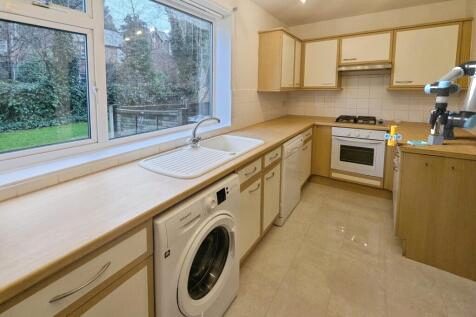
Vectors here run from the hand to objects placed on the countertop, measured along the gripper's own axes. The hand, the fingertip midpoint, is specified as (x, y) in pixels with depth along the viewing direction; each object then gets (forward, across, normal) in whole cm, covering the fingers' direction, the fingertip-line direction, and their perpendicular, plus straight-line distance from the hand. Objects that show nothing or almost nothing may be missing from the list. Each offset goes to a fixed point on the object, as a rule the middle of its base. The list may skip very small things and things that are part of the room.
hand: (436, 133), depth 210 cm
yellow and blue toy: (+10, +32, -5) cm, 33 cm away
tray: (+9, +13, -1) cm, 16 cm away
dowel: (+8, 0, 0) cm, 8 cm away
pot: (+9, 0, 0) cm, 9 cm away
